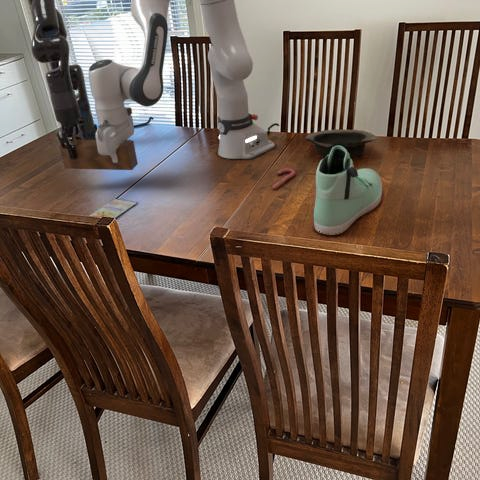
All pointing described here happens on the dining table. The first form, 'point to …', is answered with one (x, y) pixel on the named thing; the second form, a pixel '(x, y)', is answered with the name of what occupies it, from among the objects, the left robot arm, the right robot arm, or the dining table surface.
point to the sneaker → (343, 192)
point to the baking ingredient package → (113, 208)
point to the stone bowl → (340, 141)
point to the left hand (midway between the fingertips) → (78, 155)
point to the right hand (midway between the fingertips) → (120, 157)
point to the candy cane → (284, 177)
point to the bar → (99, 156)
